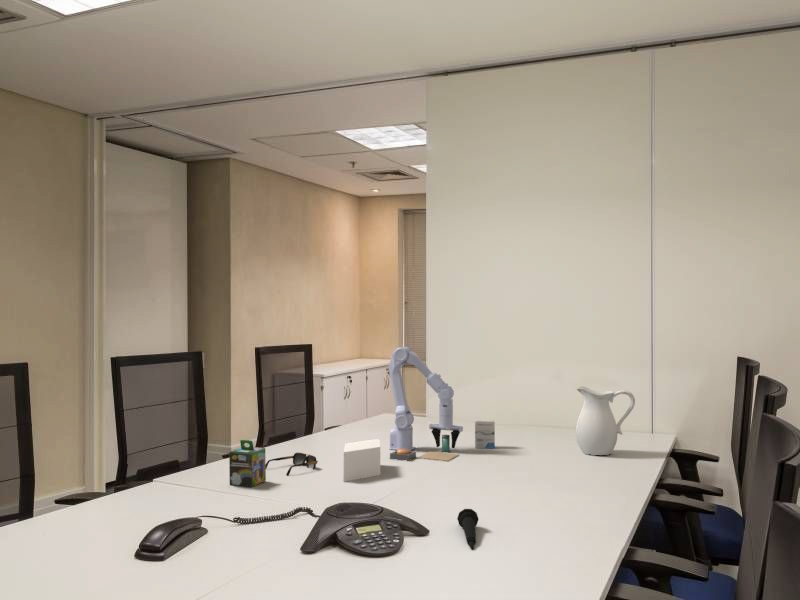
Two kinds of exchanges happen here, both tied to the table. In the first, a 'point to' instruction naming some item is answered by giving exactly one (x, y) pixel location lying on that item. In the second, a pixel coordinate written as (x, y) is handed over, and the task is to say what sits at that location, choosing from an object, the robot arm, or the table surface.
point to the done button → (403, 451)
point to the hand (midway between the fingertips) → (445, 447)
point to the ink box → (484, 434)
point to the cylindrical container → (445, 443)
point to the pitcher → (599, 421)
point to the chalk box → (247, 465)
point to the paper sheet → (438, 456)
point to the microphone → (468, 525)
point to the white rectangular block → (361, 459)
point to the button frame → (402, 456)
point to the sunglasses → (299, 460)
